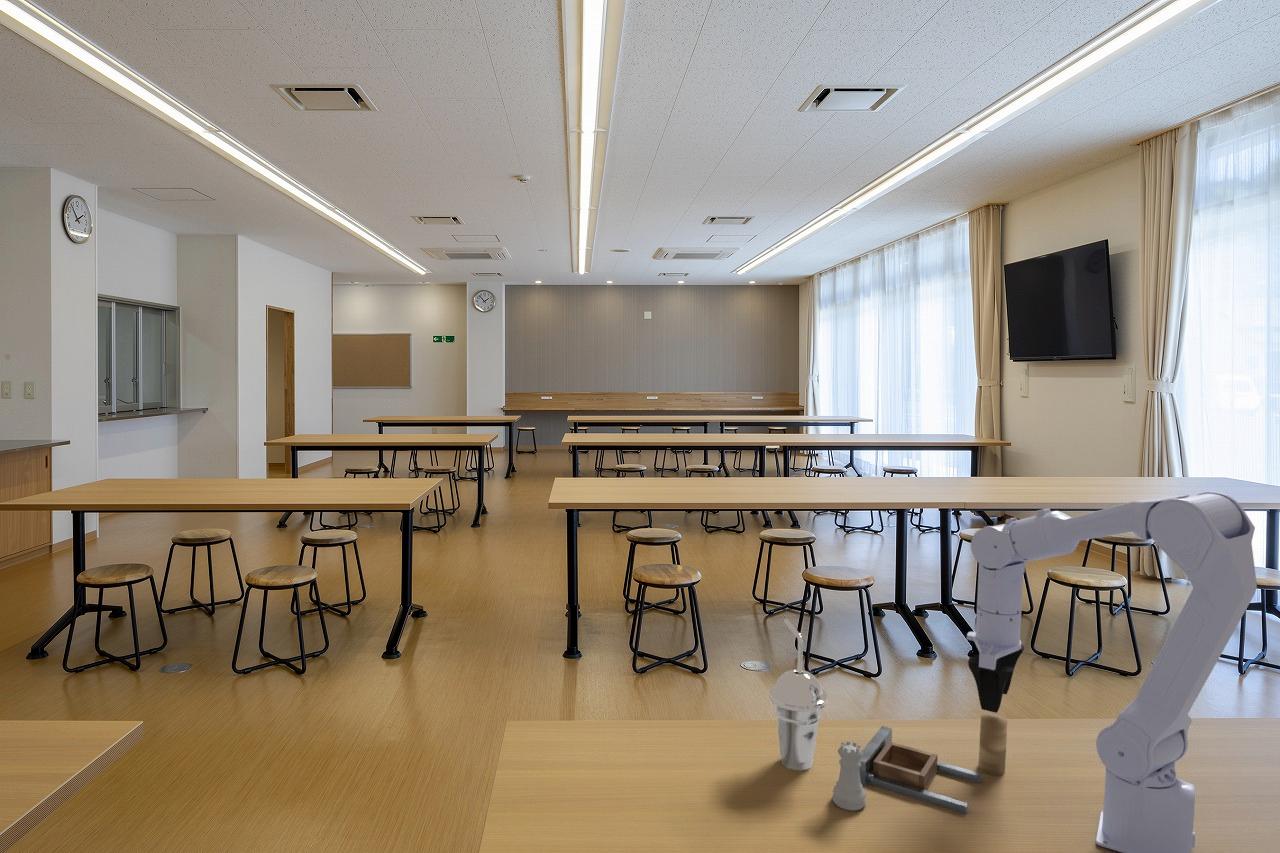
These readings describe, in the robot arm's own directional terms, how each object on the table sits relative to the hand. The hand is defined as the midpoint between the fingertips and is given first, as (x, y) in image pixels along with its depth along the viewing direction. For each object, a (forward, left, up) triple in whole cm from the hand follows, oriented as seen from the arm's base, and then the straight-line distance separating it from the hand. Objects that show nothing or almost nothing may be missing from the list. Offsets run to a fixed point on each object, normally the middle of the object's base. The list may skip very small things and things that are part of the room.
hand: (994, 701), depth 113 cm
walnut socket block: (+10, +9, -10) cm, 17 cm away
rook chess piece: (+14, +20, -10) cm, 27 cm away
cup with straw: (+24, +14, -10) cm, 30 cm away
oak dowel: (0, 0, -10) cm, 10 cm away
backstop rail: (+8, +9, -10) cm, 16 cm away
